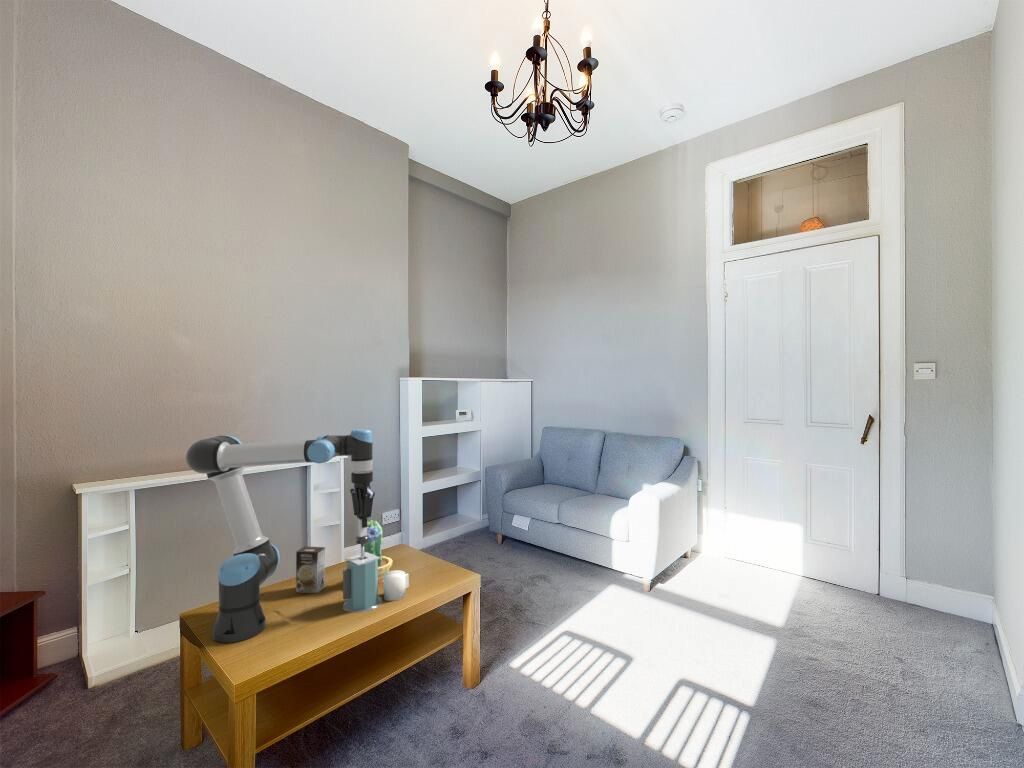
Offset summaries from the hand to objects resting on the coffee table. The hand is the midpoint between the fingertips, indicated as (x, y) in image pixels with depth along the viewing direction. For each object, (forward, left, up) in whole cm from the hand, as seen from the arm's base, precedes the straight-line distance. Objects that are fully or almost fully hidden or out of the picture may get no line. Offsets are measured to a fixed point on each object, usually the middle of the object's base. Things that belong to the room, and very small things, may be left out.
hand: (362, 535), depth 171 cm
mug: (+12, -4, -25) cm, 28 cm away
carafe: (-1, 0, -25) cm, 25 cm away
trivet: (0, 0, -25) cm, 25 cm away
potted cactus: (+14, +15, -26) cm, 33 cm away
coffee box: (-6, +28, -26) cm, 38 cm away
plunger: (0, 0, -17) cm, 17 cm away
